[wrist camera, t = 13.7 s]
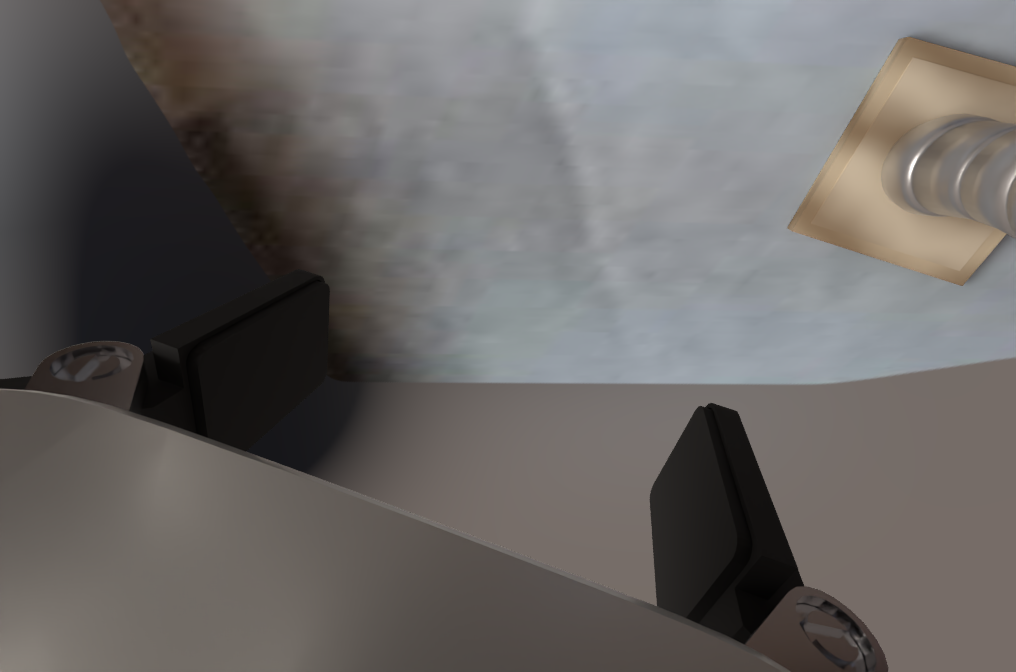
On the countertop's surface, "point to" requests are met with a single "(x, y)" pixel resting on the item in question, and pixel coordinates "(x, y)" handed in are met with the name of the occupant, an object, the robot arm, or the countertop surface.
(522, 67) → the countertop surface
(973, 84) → the oak board
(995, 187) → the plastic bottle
